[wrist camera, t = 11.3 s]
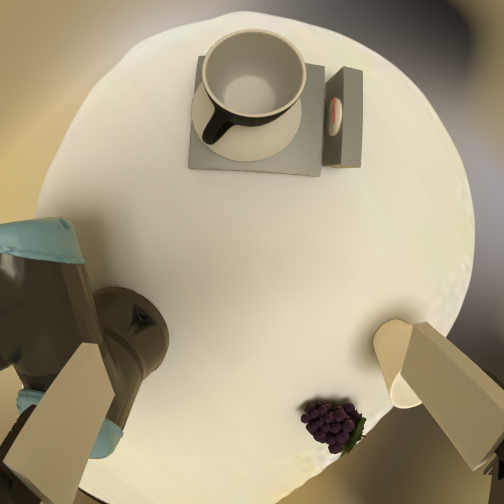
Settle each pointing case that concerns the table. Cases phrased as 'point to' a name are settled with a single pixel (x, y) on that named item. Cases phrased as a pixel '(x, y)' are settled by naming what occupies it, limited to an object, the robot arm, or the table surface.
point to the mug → (250, 80)
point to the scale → (288, 130)
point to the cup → (395, 361)
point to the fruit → (334, 425)
